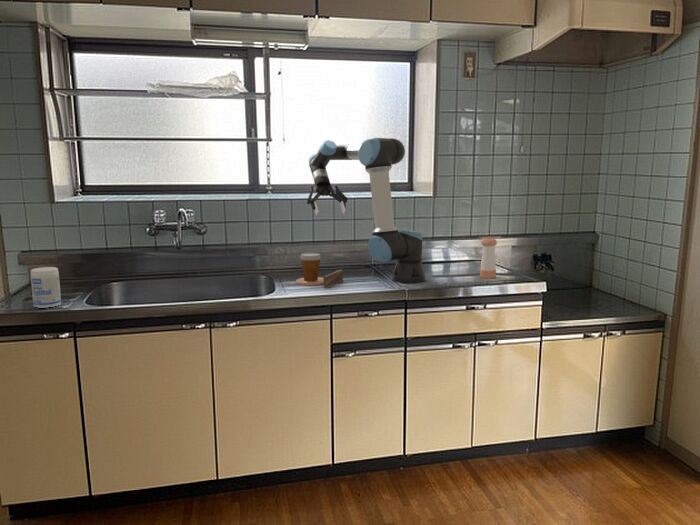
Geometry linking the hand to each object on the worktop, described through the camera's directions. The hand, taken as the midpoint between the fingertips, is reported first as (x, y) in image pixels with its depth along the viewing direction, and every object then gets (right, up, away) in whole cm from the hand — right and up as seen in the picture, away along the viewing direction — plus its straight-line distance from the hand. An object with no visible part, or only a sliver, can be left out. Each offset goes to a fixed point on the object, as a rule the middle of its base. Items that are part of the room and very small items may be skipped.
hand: (331, 213), depth 263 cm
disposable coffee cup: (-9, -32, -10) cm, 34 cm away
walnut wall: (+2, -33, -15) cm, 36 cm away
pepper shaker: (+74, -30, -2) cm, 80 cm away
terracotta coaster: (-8, -32, -10) cm, 35 cm away
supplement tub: (-108, -41, -49) cm, 126 cm away
